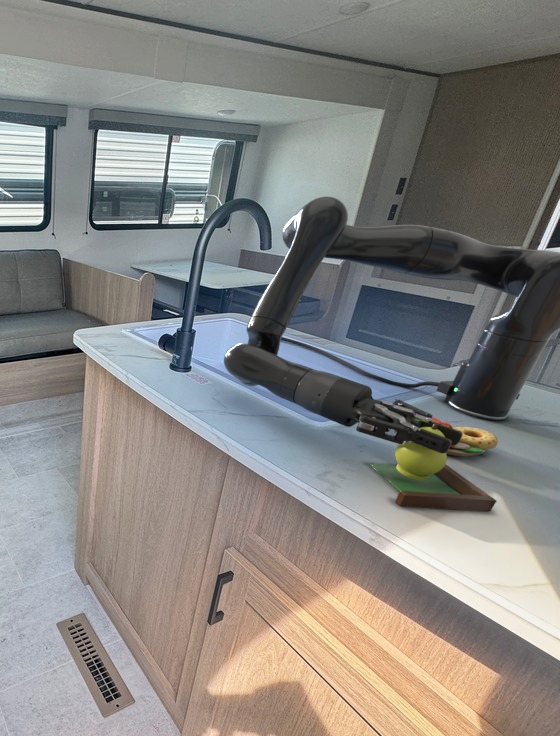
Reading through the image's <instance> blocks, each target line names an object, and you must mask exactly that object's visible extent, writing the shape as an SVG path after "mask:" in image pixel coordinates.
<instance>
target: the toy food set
mask: <svg viewBox="0 0 560 736" xmlns="http://www.w3.org/2000/svg"><path fill="white" fill-rule="evenodd" d="M431 419H433V422H436V423H439V424H441V425H444V426H447V427H450V428H453V429H455V430H458V431H461V432H462V433H463V436H462V438H461V439H460V441H459V443H458V444H457V445H451V446H450V448H449V450H448V451H447V452H446V455H449V456H455V457H473V456H474V457H475V456H477V455H481V454H484V453H485V452H486V450H491V449H495V448H496V447H497V445H498V442H499V439H498V437H497V436H496V435H495V434H494V433H492V432H490V431H487V430H484V429H481V428H478V427H470V426H458V427H455V426H452V425H451V424H450V423H448V422H445V421H441V420H440V419H438V418H436V417H434V416H432V418H431ZM415 420H416V419H415ZM417 421H419V420H417Z"/></svg>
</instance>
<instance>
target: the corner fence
mask: <svg viewBox="0 0 560 736" xmlns="http://www.w3.org/2000/svg"><path fill="white" fill-rule="evenodd" d="M397 465H398V464H383V463H382V464H380V463H369V466H370V467H371V468H372V469H374V470H375V472H377V473H378V474H379V475H380V476H382V478H384V480H386V481H387V482H388V483H389V484H390V485H392V486H393V487H394V488H395V489H396V490H397V491H398V492H399V493H398V494H397V497H396V499H395V503H396V504H397V505H398V506H399V507H411V508H412V507H413V508H428V509H441V510H442V509H443V510H456V511H457V510H459V511H473V512H474V511H476V512H491V511H492V509H493V508H494V506H495V505H496V503H497V502H498V500H497V499H495V498H494V497H493V496H491V495H489V494H488V493H486V491H485V490H482V489H481V488H480V487H478V486H477V485H476V484H474V483H473V482H472V481H470V480H469V479H467V478H466V477H465V476H463V475H462V474H460V473H459V472H457V471H456V470H454V469H453V468H452V467H450V466H449V465H447V463H446V464H445V466H444V467H443V469H442V470H440V471H439V472H437V473H435V474H432V475H429V478H428V479H427V480H416V479H412V478H409V477H407V476H405V475H403V474H402V473H400V472H399V471H398V470H397V468H396V467H397Z"/></svg>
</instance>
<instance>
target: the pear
mask: <svg viewBox="0 0 560 736" xmlns="http://www.w3.org/2000/svg"><path fill="white" fill-rule="evenodd" d="M437 426H438V425H437V424H433V426H432V427H422V428H419V431H420V430H421V429H424V430H427V431H429V432H432V433H435V434H437V435H440V436H443V437H445V436H444V434H443V433H442V432H441V431H439V430H437V429H436V428H437ZM447 455H448V454H446V453H439V452H437V451H434V450H432V449H429V448H427V447H424V446H422V445H419V444H417V443H414V442H413V443H408V442H405V441H404V443H403V444H398V443H397V446H396V448H395V451H394V456H395V459H396V462H397V464H396V465H397V467H396V468H397V470H398V471H399V472H400V473H402V474H403V475H405V476H407V477H409V478H412V479H416V480H427V479H428V478H429V475H432V474H434V475H435V473H437V472H439V471H440V470H442V469H443V467H444V466H445V464H446V465H447V461H448V456H447Z"/></svg>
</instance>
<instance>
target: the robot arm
mask: <svg viewBox="0 0 560 736" xmlns="http://www.w3.org/2000/svg"><path fill="white" fill-rule="evenodd" d="M348 212H349V211H348V209H347V207H346V205H345V204H344V202H343V201H341V200H340V199H338V198H337V197H333V196H320V197H319V196H318V197H317V198H314V199H312V200H310V201H309V202H307V203H306V204H304V205H303V206H302V207H301V208H300V209H299V210H298V211H297V212H296V213H295V214H294V215H293V216H292V218H290V219H289V221H288V222H287V223H286V224H285V226H284V228H283V230H282V241H283V243H284V245H285V246H286V247H287V248H288V249H289V251H288V252H287V254H286V256H285V258H284V260H283V262H282V263H281V265H280V267H279V269H278V270H277V272H276V273H275V275H274V276H273V278H272V279H271V281H270V282H269V284H268V285H267V287H266V288H265V290H264V291H263V293H262V295H261V296H260V298H259V300H258V301H257V304H256V305H255V308H254V309H253V312H252V314H251V316H250V318H249V320H248V322H247V325H246V334H247V337H248V339H247V340H248V341H247V343H238V344H235V345H233V346H231V347H229V348H228V349H227V350H226V352H225V353H224V356H223V365H224V368H225V369H226V371H227V372H228V373H229V374H230V375H231V376H232V377H233V378H235V379H236V381H238V382H239V383H241V384H242V385H244V386H246V387H256V386H260V387H263V388H264V389H265V390H267V391H269V392H270V393H271V394H273V395H275V396H277V397H279V398H281V399H283V400H286V401H288V402H290V403H293V404H295V405H297V406H300V407H301V408H303V409H305V411H308V412H311V413H313V414H316V415H318V416H320V417H323V418H325V419H327V420H330V421H332V422H334V423H337V424H339V425H341V426H344V427H346V428H351V427H354V426H355V425H356V424H357V426H356V429H355V430H356V431H357V432H359V433H361V434H365V435H368V436H371V437H374V438H378V439H382V440H383V441H388V442H391V443H394V444H397V445H398V444H403V443H404V441H405V442H408V443H413V442H414V443H417V444H419V445H422V446H424V447H427V448H429V449H432V450H434V451H437V452H439V453H446V452H447V451H448V450H449V448H450V446H451V445H457V444H458V443H459V441H460V439H461V438H462V436H463V433H462V432H461V431H458V430H455V429H453V428H450V427H447V426H444V425H441V424H439V423H436V422H433V419H431V418H432V417H434V415H433V414H432V413H429V412H427V411H425V410H423V409H421V408H418V407H416V406H414V405H411V404H409V403H407V402H405V401H403V400H401V399H393V402H392V401H387V400H379V399H375V398H373V396H372V395H373V390H372V387H370V386H368V385H366V384H363V383H360V382H357V381H354V380H351V379H349V378H347V377H342V376H340V375H336V374H334V373H331V372H327V371H322V370H317V369H314V368H311V367H308V366H306V365H302V364H300V363H297V362H293V361H289V360H287V359H285V358H283V357H280V356H279V355H278V354H279V351H280V345H281V341H283V342H287V343H290V344H294V345H296V346H300V347H303V348H306V349H309V350H312V351H314V352H316V353H319V354H321V355H323V356H325V357H327V358H330V359H332V360H334V361H336V362H337V363H339V364H341V365H344V366H345V367H348V368H349V369H351V370H353V371H355V372H357V373H358V374H361V375H363V376H365V377H367V378H371V379H374V380H376V381H379V382H382V383H386V384H388V385H392V386H397V387H400V388H406V389H407V388H409V389H416V388H419V387H424V386H430V387H431V386H432V387H436V390H435V391H436V392H438V393H441V394H443V395H445V398H444V399H443V402H444V403H446V404H447V405H448V406H450V407H451V408H453V409H454V410H457V411H458V412H460V413H463V414H466V415H469V416H472V417H476V418H480V419H483V420H489V421H504V420H506V418H507V417H508V414H509V413H510V411H511V408H512V407H513V405H514V403H515V402H516V400H517V401H518V400H519V397H520V396H521V394H520V393H521V391H522V389H523V388H524V385H525V384H526V382H527V380H528V379H529V376H530V375H531V374H532V371H533V370H534V368H535V366H536V365H537V363H538V361H539V359H540V357H541V355H542V353H543V351H544V350H545V348H546V346H547V345H548V344H549V341H550V339H551V338H552V337H553V335H554V334H555V333H556V332H558V330H560V251H554V250H545V249H529V248H528V249H527V248H515V247H508V246H499V245H493V244H489V243H485V242H483V241H481V240H478V239H476V238H473V237H471V236H468V235H465V234H463V233H459V232H456V231H452V230H448V229H444V228H439V227H434V226H429V225H422V224H411V223H410V224H393V225H380V226H379V225H378V226H357V225H356V226H355V225H350V224H348V221H349V214H348ZM324 259H333V260H340V261H347V262H352V263H358V264H361V265H365V266H370V267H373V268H374V267H375V268H379V269H384V270H389V271H393V272H397V273H400V274H406V275H410V276H414V277H419V278H424V279H431V280H443V281H462V282H463V281H464V282H469V283H474V284H478V285H481V286H484V287H488V288H491V289H494V290H497V291H498V292H499V291H500V292H503V293H505V294H508V295H510V296H511V297H512V296H513V297H516V299H515V301H514V303H513V304H512V306H511V307H510V308H509V310H508V311H507V312H504V313H502V314H496V315H493V316H491V317H490V318H489V319H488V321H487V322H486V325H485V327H484V329H483V330H482V333H481V335H480V337H479V339H478V342H477V343H476V346H475V348H474V350H473V352H472V354H471V356H470V358H469V360H468V361H463V362H462V363H461V364H460V366H459V369H458V370H457V373H456V374H455V376H454V379H453V380H444V381H439V382H438V381H431V380H430V381H427V380H426V381H420V382H416V383H405V382H400V381H396V380H395V381H394V380H391V379H387V378H385V377H383V376H379V375H377V374H373V373H370V372H367V371H365V370H364V369H361V368H359V367H358V366H356V365H354V364H352V363H349V362H348V361H346V360H344V359H341V358H340V357H338V356H335V355H334V354H331V353H329V352H327V351H325V350H323V349H320V348H318V347H315V346H313V345H310V344H307V343H304V342H300V341H298V340H294V339H290V338H286V337H284V334H285V332H286V330H287V328H288V326H289V324H290V322H291V320H292V318H293V315H294V314H295V312H296V309H297V307H298V305H299V303H300V301H301V299H302V297H303V296H304V293H305V291H306V289H307V288H308V286H309V284H310V282H311V280H312V278H313V277H314V275H315V273H316V272H317V270H318V268H319V267H320V265H321V263H322V262H323V260H324ZM415 419H416V420H415ZM417 420H419V421H417ZM433 424H437V425H438V426H437V428H436V429H437V430H439V431H441V432H442V433H443V434H444V436H445V437H443V436H440V435H437V434H435V433H432V432H429V431H427V430H424V429H421V430H420V431H419V428H422V427H432V426H433Z"/></svg>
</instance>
